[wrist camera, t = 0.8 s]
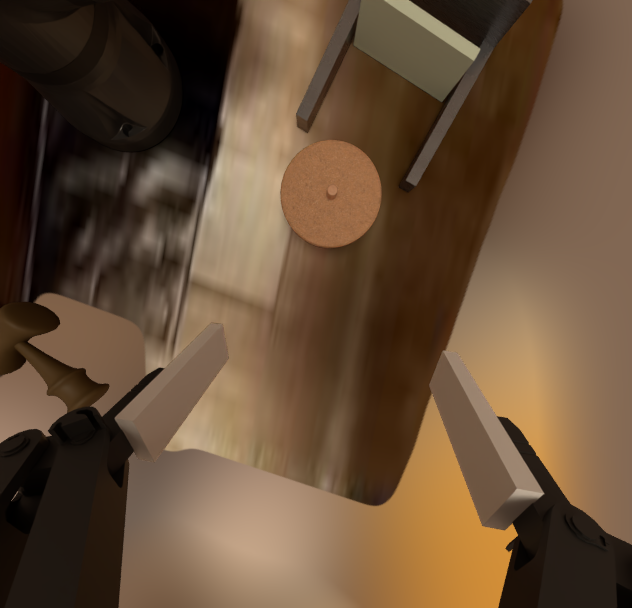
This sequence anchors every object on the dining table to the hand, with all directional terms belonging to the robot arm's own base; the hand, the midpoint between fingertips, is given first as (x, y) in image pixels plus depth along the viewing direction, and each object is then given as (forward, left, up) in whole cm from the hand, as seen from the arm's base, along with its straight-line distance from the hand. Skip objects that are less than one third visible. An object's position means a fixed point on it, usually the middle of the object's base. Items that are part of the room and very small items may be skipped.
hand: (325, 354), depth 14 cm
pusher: (-5, +31, -20) cm, 37 cm away
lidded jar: (-5, +12, -20) cm, 24 cm away
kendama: (-32, -25, -20) cm, 45 cm away
